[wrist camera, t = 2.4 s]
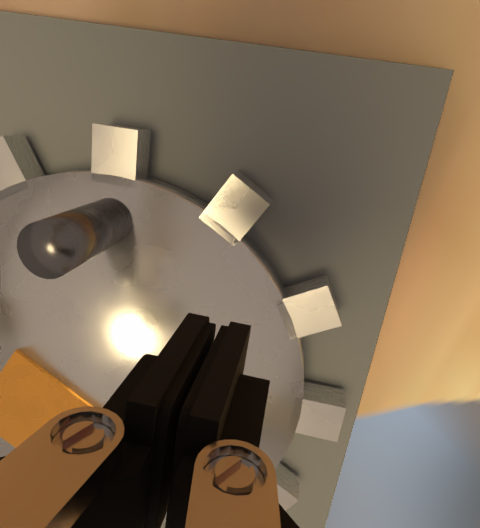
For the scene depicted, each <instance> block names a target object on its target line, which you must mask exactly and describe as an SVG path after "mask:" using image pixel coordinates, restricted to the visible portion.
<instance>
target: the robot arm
mask: <svg viewBox="0 0 480 528" xmlns="http://www.w3.org/2000/svg"><path fill="white" fill-rule="evenodd" d="M209 321H210V319H209V317H208V316H203V315H198V314H193V313H188V314H187V315H186V317H185V318H184V320H183V321H182V322H181V324H180V325H179V327H178V328H177V329H176V331H175V332H174V334H173V335H172V336H171V338H170V339H169V341H168V342H167V344H166V345H165V346H164V348H163V349H162V351H161V352H160V353H159V355H158V356H157V355H152V354H144V355H143V356H142V358H141V359H140V360H139V361H138V363H137V364H136V365H135V367H134V368H133V369H132V370H131V372H130V373H129V374H128V375H127V377H126V378H125V379H124V381H123V382H122V383H121V384H120V386H119V387H118V388H117V390H116V391H115V392H114V393H113V395H112V396H111V397H110V399H109V400H108V401H107V402H106V404H105V405H104V406H103V408H100V407H88V406H84V407H78V408H72V409H70V410H67V411H64V412H62V413H60V414H58V415H57V416H55V417H53V418H52V419H50V420H49V421H48V422H47V423H46V424H44V425H43V426H42V427H41V428H40V429H38V430H37V431H36V432H35V433H33V434H32V435H31V436H30V437H29V438H27V439H26V440H25V441H24V442H22V443H21V444H20V445H19V446H18V447H16V448H15V449H14V450H13V451H11V452H10V453H9V454H8V455H7V456H3V457H0V528H161V525H162V523H163V520H164V518H165V515H166V513H167V515H166V523H165V528H300V527H299V526H298V525H297V524H296V523H295V521H294V520H293V519H292V518H291V517H290V516H289V514H288V513H287V512H286V511H285V510H284V509H283V507H282V506H281V505H280V504H279V500H278V489H277V478H276V472H275V468H274V465H273V463H272V461H271V460H270V458H269V457H268V455H267V454H265V453H264V452H263V451H262V450H261V449H259V445H260V439H261V433H262V427H263V421H264V415H265V409H266V403H267V397H268V391H269V385H270V380H266V379H262V378H257V377H253V376H248V375H243V372H244V366H245V360H246V355H247V349H248V343H249V337H250V331H251V325H247V324H242V323H237V322H232V321H231V322H230V324H229V326H224V325H221V327H220V329H219V331H218V333H217V335H216V337H215V331H216V324H215V323H210V322H209ZM214 338H215V340H214Z"/></svg>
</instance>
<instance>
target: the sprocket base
mask: <svg viewBox="0 0 480 528" xmlns="http://www.w3.org/2000/svg"><path fill="white" fill-rule="evenodd" d="M453 72H454V70H449V69H442V68H434V67H427V66H419V65H411V64H404V63H396V62H388V61H381V60H373V59H366V58H358V57H350V56H343V55H335V54H327V53H320V52H312V51H305V50H297V49H289V48H282V47H274V46H267V45H259V44H251V43H244V42H236V41H228V40H221V39H213V38H206V37H198V36H190V35H183V34H175V33H167V32H160V31H152V30H145V29H137V28H129V27H122V26H114V25H106V24H99V23H91V22H84V21H76V20H68V19H61V18H53V17H45V16H38V15H30V14H23V13H15V12H7V11H0V137H1V136H8V135H25V137H26V139H27V141H28V143H29V145H30V147H31V149H32V151H33V153H34V155H35V157H36V159H37V161H38V163H39V165H40V167H41V169H42V171H43V173H44V175H45V176H47V175H52V174H57V173H62V172H68V171H74V170H91V163H92V123H106V124H115V125H121V126H127V127H134V128H140V129H146V130H151V139H150V154H149V168H148V177H151V178H155V179H158V180H160V181H163V182H165V183H168V184H171V185H173V186H176V187H178V188H181V189H183V190H185V191H186V192H188V193H190V194H192V195H194V196H196V197H198V198H199V199H201V200H203V201H205V202H206V203H208V204H209V203H210V202H211V201H212V199H213V198H214V197H215V196H216V194H217V193H218V192H219V190H220V189H221V188H222V186H223V185H224V184H225V182H226V181H227V180H228V179H229V177H230V176H231V175H232V173H234V172H236V171H238V170H239V171H240V172H241V173H242V174H243V175H245V176H246V177H247V178H248V179H250V180H251V181H252V182H253V183H254V184H256V185H257V186H258V187H259V188H260V189H262V190H263V191H264V192H265V193H266V194H268V195H269V196H270V197H271V198H272V199H273V200H272V201H271V203H270V205H269V206H268V207H267V209H266V210H265V211H264V212H263V213H262V215H261V216H260V217H259V218H258V219H257V221H256V222H255V223H254V224H253V226H252V227H251V228H250V229H249V230H248V232H247V233H246V235H247V236H248V237H249V238H250V239H251V240H252V241H253V242H254V244H255V245H256V246H257V247H258V248H259V250H260V251H261V252H262V253H263V254H264V256H265V257H266V258H267V259H268V261H269V262H270V264H271V266H272V267H273V269H274V270H275V272H276V273H277V275H278V277H279V278H280V280H281V281H282V283H283V285H284V287H287V286H290V285H293V284H296V283H299V282H303V281H306V280H309V279H312V278H315V277H319V276H322V275H325V274H327V277H328V280H329V283H330V286H331V288H332V291H333V294H334V297H335V300H336V303H337V305H338V308H339V311H340V316H341V322H342V326H340V327H336V328H332V329H329V330H325V331H322V332H318V333H314V334H311V335H307V336H304V337H301V338H302V345H303V351H304V381H306V382H310V383H315V384H320V385H324V386H329V387H334V388H338V389H343V390H344V394H345V402H346V411H345V415H344V419H343V422H342V426H341V430H340V433H339V437H338V441H337V442H334V441H330V440H325V439H321V438H316V437H312V436H308V435H303V434H299V433H295V434H294V437H293V439H292V441H291V443H290V445H289V447H288V449H287V451H286V453H285V455H284V457H283V458H282V460H281V461H280V463H281V464H282V465H283V466H285V467H286V468H287V469H288V470H290V471H291V472H292V473H294V474H295V475H296V476H298V477H299V501H297V502H296V503H295V504H294V505H292V506H291V507H290V508H289V509H287V510H286V512H287V513H288V514H289V516H290V517H291V518H292V519H293V520H294V521H295V523H296V524H297V525H298V526H299V527H300V528H324V527H325V523H326V520H327V517H328V513H329V509H330V506H331V502H332V499H333V495H334V492H335V488H336V485H337V481H338V477H339V474H340V471H341V467H342V463H343V460H344V457H345V453H346V449H347V446H348V442H349V439H350V435H351V432H352V428H353V425H354V421H355V418H356V414H357V411H358V407H359V404H360V400H361V397H362V393H363V389H364V386H365V382H366V379H367V375H368V372H369V368H370V365H371V361H372V358H373V354H374V351H375V347H376V344H377V340H378V337H379V333H380V329H381V326H382V322H383V319H384V315H385V312H386V308H387V305H388V301H389V298H390V294H391V291H392V287H393V284H394V280H395V277H396V273H397V269H398V266H399V262H400V259H401V255H402V252H403V248H404V245H405V241H406V238H407V234H408V231H409V227H410V224H411V220H412V217H413V213H414V209H415V206H416V202H417V199H418V195H419V192H420V188H421V185H422V181H423V178H424V174H425V171H426V167H427V164H428V160H429V157H430V153H431V149H432V146H433V142H434V139H435V135H436V132H437V128H438V125H439V121H440V118H441V114H442V111H443V107H444V104H445V100H446V97H447V93H448V90H449V86H450V82H451V79H452V75H453ZM161 528H165V524H162V525H161Z"/></svg>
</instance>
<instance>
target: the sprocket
mask: <svg viewBox="0 0 480 528" xmlns="http://www.w3.org/2000/svg"><path fill="white" fill-rule="evenodd" d="M150 139H151V130H146V129H140V128H134V127H127V126H121V125H115V124H106V123H92V163H91V170H74V171H68V172H62V173H57V174H52V175H47V176H45V175H44V173H43V171H42V169H41V167H40V165H39V163H38V161H37V159H36V157H35V155H34V153H33V151H32V149H31V147H30V145H29V143H28V141H27V139H26V137H25V135H8V136H1V137H0V457H3V456H7V455H8V454H9V453H10V452H11V451H13V450H14V449H15V448H16V447H18V446H19V445H20V444H21V443H22V442H24V441H25V440H26V439H27V438H29V437H30V436H31V435H32V434H33V433H35V432H36V431H37V430H38V429H40V428H41V427H42V426H43V425H44V424H46V423H47V422H48V421H49V420H50V419H52V418H53V417H55V416H57V415H58V414H60V413H62V412H64V411H67V410H70V409H72V408H78V407H84V406H88V407H100V408H103V406H104V405H105V404H106V402H107V401H108V400H109V399H110V397H111V396H112V395H113V393H114V392H115V391H116V390H117V388H118V387H119V386H120V384H121V383H122V382H123V381H124V379H125V378H126V377H127V375H128V374H129V373H130V372H131V370H132V369H133V368H134V367H135V365H136V364H137V363H138V361H139V360H140V359H141V358H142V356H143V355H144V354H152V355H157V356H158V355H159V353H160V352H161V351H162V349H163V348H164V346H165V345H166V344H167V342H168V341H169V339H170V338H171V336H172V335H173V334H174V332H175V331H176V329H177V328H178V327H179V325H180V324H181V322H182V321H183V320H184V318H185V317H186V315H187V314H188V313H193V314H198V315H203V316H208V317H209V319H210V321H209V322H210V323H215V324H216V331H215V337H216V335H217V333H218V331H219V329H220V327H221V325H224V326H229V324H230V322H231V321H232V322H237V323H242V324H247V325H251V331H250V337H249V343H248V349H247V355H246V360H245V366H244V372H243V375H248V376H253V377H257V378H262V379H266V380H270V385H269V391H268V397H267V403H266V409H265V415H264V421H263V427H262V433H261V439H260V445H259V449H261V450H262V451H263V452H264V453H265V454H267V455H268V457H269V458H270V460H271V461H272V463H273V465H274V468H275V472H276V478H277V489H278V500H279V504H280V505H281V506H282V507H283V509H284V510H285V511H286V510H287V509H289V508H290V507H291V506H292V505H294V504H295V503H296V502H297V501H299V477H298V476H296V475H295V474H294V473H292V472H291V471H290V470H288V469H287V468H286V467H285V466H283V465H282V464H281V463H280V461H281V460H282V458H283V457H284V455H285V453H286V451H287V449H288V447H289V445H290V443H291V441H292V439H293V437H294V434H295V433H299V434H303V435H308V436H312V437H316V438H321V439H325V440H330V441H334V442H337V441H338V437H339V433H340V430H341V426H342V422H343V419H344V415H345V411H346V402H345V394H344V390H343V389H338V388H334V387H329V386H324V385H320V384H315V383H310V382H306V381H304V351H303V345H302V338H301V337H304V336H307V335H311V334H314V333H318V332H322V331H325V330H329V329H332V328H336V327H340V326H342V322H341V316H340V311H339V308H338V305H337V303H336V300H335V297H334V294H333V291H332V288H331V286H330V283H329V280H328V277H327V274H325V275H322V276H319V277H315V278H312V279H309V280H306V281H303V282H299V283H296V284H293V285H290V286H287V287H284V285H283V283H282V281H281V280H280V278H279V277H278V275H277V273H276V272H275V270H274V269H273V267H272V266H271V264H270V262H269V261H268V259H267V258H266V257H265V256H264V254H263V253H262V252H261V251H260V250H259V248H258V247H257V246H256V245H255V244H254V242H253V241H252V240H251V239H250V238H249V237H248V236H247V235H246V233H247V232H248V230H249V229H250V228H251V227H252V226H253V224H254V223H255V222H256V221H257V219H258V218H259V217H260V216H261V215H262V213H263V212H264V211H265V210H266V209H267V207H268V206H269V205H270V203H271V201H272V200H273V199H272V198H271V197H270V196H269V195H268V194H266V193H265V192H264V191H263V190H262V189H260V188H259V187H258V186H257V185H256V184H254V183H253V182H252V181H251V180H250V179H248V178H247V177H246V176H245V175H243V174H242V173H241V172H240V171H239V170H238V171H236V172H234V173H232V175H231V176H230V177H229V179H228V180H227V181H226V182H225V184H224V185H223V186H222V188H221V189H220V190H219V192H218V193H217V194H216V196H215V197H214V198H213V199H212V201H211V202H210V203H209V204H208V203H206V202H205V201H203V200H201V199H199V198H198V197H196V196H194V195H192V194H190V193H188V192H186V191H185V190H183V189H181V188H178V187H176V186H173V185H171V184H168V183H165V182H163V181H160V180H158V179H155V178H151V177H148V168H149V154H150ZM214 340H215V338H214ZM166 515H167V513H166ZM166 515H165V518H164V520H163V523H162V524H165V523H166Z"/></svg>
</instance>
